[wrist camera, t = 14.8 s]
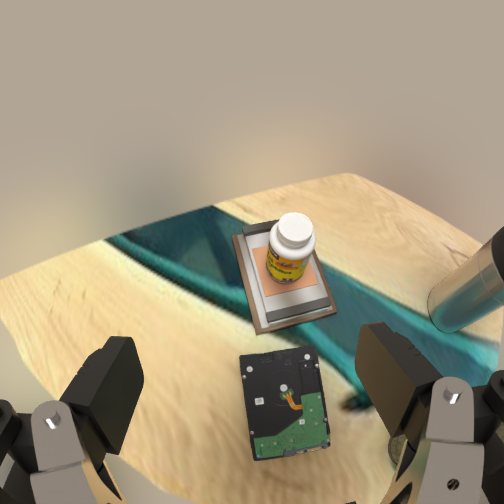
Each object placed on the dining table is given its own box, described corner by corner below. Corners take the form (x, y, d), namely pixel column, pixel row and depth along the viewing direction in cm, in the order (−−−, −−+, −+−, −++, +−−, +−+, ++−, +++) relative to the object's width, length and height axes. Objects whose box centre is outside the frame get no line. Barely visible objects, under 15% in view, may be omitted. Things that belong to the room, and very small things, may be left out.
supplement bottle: (257, 268, 39) (259, 226, 30) (282, 243, 41) (291, 198, 32) (287, 293, 37) (300, 257, 28) (312, 266, 39) (329, 225, 30)
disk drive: (238, 358, 36) (253, 458, 29) (237, 355, 34) (253, 462, 27) (310, 347, 37) (328, 443, 30) (315, 343, 35) (334, 446, 27)
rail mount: (301, 225, 47) (305, 211, 43) (335, 313, 39) (343, 305, 35) (232, 239, 45) (230, 225, 42) (256, 335, 37) (257, 328, 34)
